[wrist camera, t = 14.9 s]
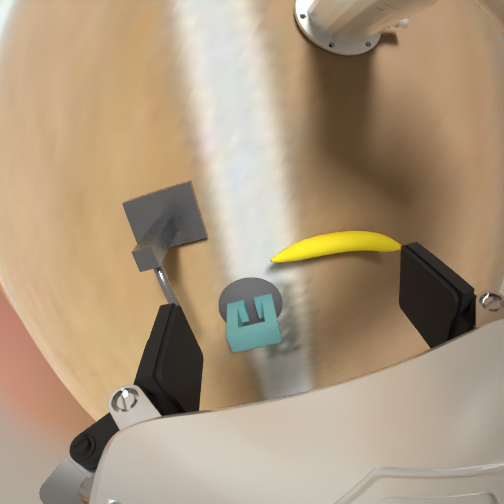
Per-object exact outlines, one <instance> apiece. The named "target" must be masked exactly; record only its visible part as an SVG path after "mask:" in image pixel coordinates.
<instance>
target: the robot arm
mask: <svg viewBox="0 0 504 504" xmlns="http://www.w3.org/2000/svg"><path fill="white" fill-rule="evenodd" d="M437 1H438V0H296V1H295V5H294V14H295V18H296V21H297V23H298V25H299V27H300V29H301V30H302V32H303V33H304V34H305V35H306V36H307V37H308V38H309V39H310V40H311V41H312V42H313V43H315V44H316V45H318V46H319V47H321V48H323V49H325V50H327V51H329V52H332V53H335V54H340V55H350V56H351V55H359V54H362V53H364V52H366V51H368V50H370V49H372V48H373V47H374V46H375V45H376V44H377V42H378V41H379V39H380V36H381V31H382V30H384V29H386V28H390V27H391V26H394V27H398V28H407V27H408V20H407V19H406V18H408V17H410V16H412V15H414V14H416V13H418V12H420V11H422V10H424V9H427V8H429V7H431V6H432V5H434V4H435V3H436V2H437ZM474 1H475V2H476V3H477V5H478V6H479V7H480V8H481V9H482V10H483V11H484V12H485V13H486V14H487V16H488V17H489V18H490V19H491V20H492V21H493V22H494V24H495V25H496V26H497V27H498V28H499V30H500V31H501V32H502V33H503V34H504V0H474ZM300 17H302V18H303V19H301V18H300ZM329 45H330V46H331V47H330V46H329ZM366 45H367V46H366ZM474 290H475V289H474V288H473V287H472V286H470V285H469V284H468V283H467V282H466V281H465V280H464V279H462V278H461V277H460V276H459V275H458V274H456V273H455V272H454V271H453V270H452V269H450V268H449V267H448V266H447V265H446V264H444V263H443V262H442V261H441V260H439V259H438V258H437V257H436V256H434V255H433V254H432V253H431V252H429V251H428V250H427V249H425V248H424V247H423V246H422V245H420V244H419V243H417V242H415V243H411V244H408V245H405V246H404V248H403V250H401V268H400V293H399V305H400V308H401V309H402V311H403V312H404V313H405V315H406V316H407V317H408V319H409V320H410V321H411V322H412V324H413V325H414V326H415V328H416V329H417V330H418V332H419V333H420V334H421V336H422V337H423V338H424V340H425V341H426V343H427V344H428V345H429V347H430V348H431V349H429V350H427V351H425V352H422V353H420V354H417V355H415V356H413V357H410V358H408V359H405V360H403V361H400V362H397V363H395V364H392V365H389V366H387V367H384V368H381V369H378V370H375V371H373V372H370V373H367V374H364V375H361V376H358V377H354V378H351V379H348V380H345V381H342V382H338V383H335V384H331V385H328V386H324V387H320V388H317V389H313V390H309V391H305V392H301V393H297V394H293V395H288V396H284V397H279V398H275V399H270V400H265V401H260V402H254V403H249V404H243V405H237V406H231V407H224V408H218V409H211V410H203V411H199V405H200V392H201V381H202V370H203V354H202V351H201V349H200V347H199V345H198V343H197V341H196V339H195V336H194V334H193V332H192V330H191V328H190V326H189V324H188V322H187V319H186V317H185V315H184V313H183V311H182V308H181V307H180V306H179V305H178V306H176V304H175V303H170V304H166V305H161V306H160V308H159V311H158V314H157V317H156V320H155V322H154V325H153V328H152V331H151V334H150V337H149V340H148V341H147V343H146V346H145V349H144V352H143V355H142V359H141V362H140V365H139V368H138V371H137V374H136V378H135V381H134V384H133V385H124V386H122V387H120V388H118V389H117V390H115V391H114V392H113V393H112V395H111V396H110V398H109V400H108V409H109V411H110V412H109V413H108V414H107V415H105V416H104V417H102V418H101V419H100V420H98V421H97V422H96V423H94V424H93V425H92V426H90V427H89V428H87V429H86V430H85V431H83V432H82V433H80V434H79V435H78V436H77V437H76V438H74V440H73V441H72V443H71V446H70V455H71V457H70V458H69V459H68V458H66V457H65V459H64V460H63V461H62V462H61V463H60V464H59V466H58V467H57V468H56V469H55V470H54V471H53V473H52V474H51V475H50V476H49V477H48V479H47V480H46V481H45V482H44V483H43V485H42V486H41V488H40V493H39V494H40V499H41V501H42V503H43V504H504V296H503V295H501V294H500V293H498V292H496V291H491V290H486V291H482V292H480V293H479V294H478V295H477V296H476V295H475V294H474Z"/></svg>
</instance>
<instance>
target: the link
mask: <svg viewBox="0 0 504 504" xmlns="http://www.w3.org/2000/svg"><path fill="white" fill-rule="evenodd" d="M254 301H255V306H256V309H257V313H258V316H259V319H260V318H265V322H261V323H256V324H252V325H248V326H243V323H242V322H247V321H249V314H248V311H247V308H246V305H245V302H244V300H242V301H237V302H233V303H229V304H227V340H228V342H229V345H230V347H231V350H232V352H233V353H235V352H240V351H245V350H249V349H254V348H259V347H263V346H267V345H272V344H276V343H280V342H282V338H281V334H280V329H279V324H278V320H277V315H276V311H275V306H274V303H273V299H272V295H271V294H267V295H263V296H259V297H254Z"/></svg>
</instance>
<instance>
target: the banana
mask: <svg viewBox="0 0 504 504" xmlns="http://www.w3.org/2000/svg"><path fill="white" fill-rule="evenodd" d="M404 246H405V245H403V246H401V245H400V244H399V243H397V242H396V241H395V240H393V239H391V238H390V237H387V236H385V235H382V234H379V233H375V232H368V231H340V232H333V233H327V234H323V235H318V236H315V237H311V238H308V239H304V240H301V241H299V242H297V243H295V244H292V245H291V246H289V247H287V248H286V249H284V250H283V251H281V252H280V253H278V254H277V255H276V256H274V257H273V258H272V259H271V260H270V261H271V262H277V263H279V262H290V261H298V260H303V259H308V258H313V257H318V256H323V255H329V254H334V253H341V252H348V251H359V250H370V251H382V252H390V251H396V250H399V249H402V250H403V248H404Z"/></svg>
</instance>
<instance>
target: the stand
mask: <svg viewBox="0 0 504 504" xmlns="http://www.w3.org/2000/svg"><path fill="white" fill-rule="evenodd" d="M122 204H123V207H124V210H125V212H126V215H127V218H128V221H129V223H130V226H131V228H132V231H133V234H134V236H135V239H136V241H137V246H136V247H135V248H134V250H133V251H132V254H133V257H134V259H135V261H136V264H137V266H138V268H139V271H140V272H142V271H146V270H150V269H154V272H155V274H156V276H157V279H158V281H159V283H160V286H161V288H162V290H163V292H164V295H165V297H166V299H167V301H168V303H169V304H170V303H175V304H176V306H178V305H179V306H180V304H179V302H178V300H177V298H176V295H175V293H174V291H173V288H172V286H171V284H170V281H169V279H168V276H167V274H166V272H165V269H164V267H163V264H162V261H163V259H164V257H165V255H166V253H167V251H168V249H169V247H173V246H177V245H181V244H185V243H188V242H192V241H196V240H200V239H204V238H207V232H206V229H205V225H204V222H203V219H202V216H201V213H200V209H199V206H198V203H197V200H196V196H195V193H194V190H193V186H192V183H191V180H190V181H187V182H184V183H180V184H177V185H174V186H171V187H167V188H164V189H161V190H158V191H155V192H152V193H149V194H146V195H143V196H140V197H137V198H134V199H131V200H128V201H125V202H124V203H122Z"/></svg>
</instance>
